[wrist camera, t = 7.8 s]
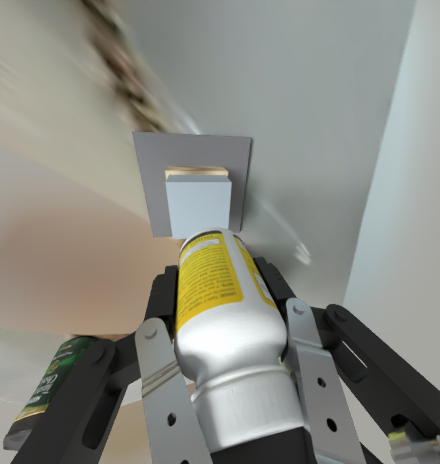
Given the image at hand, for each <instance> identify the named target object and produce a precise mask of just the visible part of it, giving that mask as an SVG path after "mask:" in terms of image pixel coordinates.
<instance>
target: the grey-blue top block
mask: <svg viewBox="0 0 440 464" xmlns="http://www.w3.org/2000/svg"><path fill="white" fill-rule="evenodd" d="M165 183H166V190H167V198H168V206H169V213H170V221H171V229H172V236H173V239H187V238H189V237H190V236H191V235H193V234H194V233H196V232H198V231H200V230H203V229H206V228H214V227H218V228H225V229H228V224H229V211H230V198H231V185H232V182H231V181H230V180H229V179H228V178H227V177H226V176H225V175H170V174H169V176H168V178H167V180H166V182H165Z"/></svg>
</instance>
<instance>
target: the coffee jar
mask: <svg viewBox="0 0 440 464" xmlns="http://www.w3.org/2000/svg"><path fill="white" fill-rule="evenodd" d="M95 342H97V340H96V339H94V338H89V337H79V338H76V339H73V340H70V341H67V342H65V343H64V344H62V345H61V346H60V348H59V349H58V351H57V353H56V355H55V356H54V358H53V360H52V362H51V364H50V366H49V368H48V369H47V371H46V373H45V375H44V377H43V378H42V380H41V382H40V384H39V385H38V387H37V389H36V391H35V392H34V394H33V396H32V397H31V399H30V400H29V402H28V403H27V405H26V406H25V408H24V409H23V410H22V412H21V413H20V414H19V416H18V417H17V418H16V420H15V421H14V423H13V425H12V426H11V428H10V430H9V432H8V434H7V435H6V436H5V438H4V441H3V446H4V447H3V449H5V450H16V451H19V450H20V448H21V447H22V445H23V444H24V442H25V440H26V439H27V437H28V436H29V434H30V433H31V431H32V430H33V428H34V427H35V425H36V424H37V422H38V421H39V419H40V418H41V416H42V414H43V413H44V411H45V410H46V408H47V407H48V405H49V404H50V402H51V401H52V399H53V398H54V396H55V395H56V393H57V392H58V390H59V388H60V387H61V385H62V384H63V382H64V381H65V379H66V378H67V376H68V375H69V373H70V372H71V370H72V369H73V367H74V366H75V364H76V362H77V361H78V359H79V358H80V356H81V355H82V354H83V352H84V351H85V350H86V349H87V348H88V347H89V346H91V345H92V344H93V343H95Z"/></svg>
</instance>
